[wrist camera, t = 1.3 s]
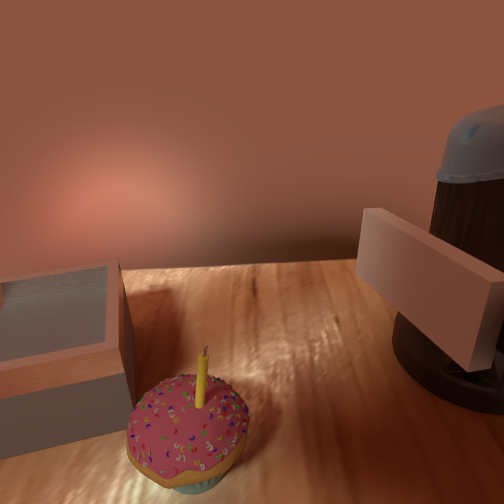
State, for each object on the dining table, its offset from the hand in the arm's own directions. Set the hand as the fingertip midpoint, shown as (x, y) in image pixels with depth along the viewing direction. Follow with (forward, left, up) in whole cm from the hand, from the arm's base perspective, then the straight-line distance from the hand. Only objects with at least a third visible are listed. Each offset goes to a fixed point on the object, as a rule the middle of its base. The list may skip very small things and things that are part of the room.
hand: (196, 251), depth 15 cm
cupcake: (+1, -8, -22) cm, 24 cm away
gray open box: (+12, -20, -22) cm, 32 cm away
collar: (+12, -20, -16) cm, 28 cm away
